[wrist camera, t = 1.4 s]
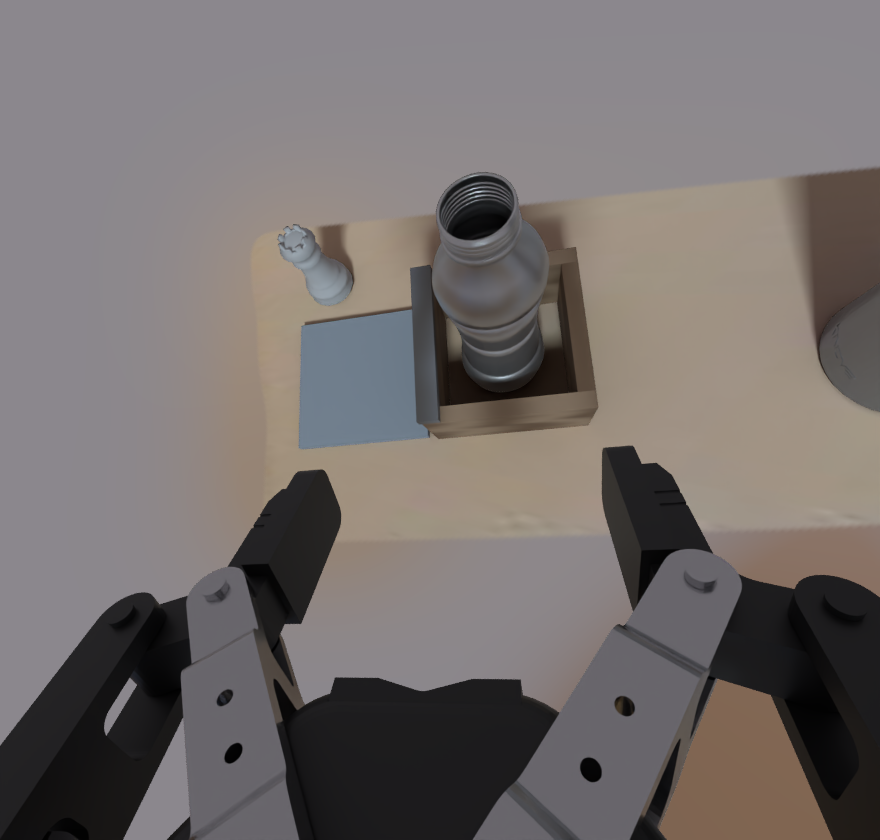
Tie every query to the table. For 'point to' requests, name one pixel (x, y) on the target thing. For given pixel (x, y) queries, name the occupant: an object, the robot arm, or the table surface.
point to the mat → (358, 382)
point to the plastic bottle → (491, 280)
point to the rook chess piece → (315, 266)
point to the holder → (510, 412)
